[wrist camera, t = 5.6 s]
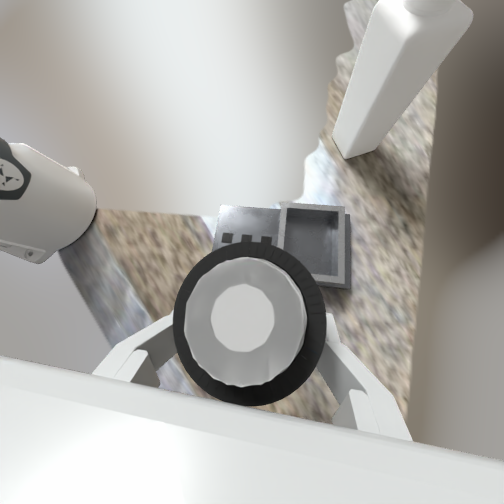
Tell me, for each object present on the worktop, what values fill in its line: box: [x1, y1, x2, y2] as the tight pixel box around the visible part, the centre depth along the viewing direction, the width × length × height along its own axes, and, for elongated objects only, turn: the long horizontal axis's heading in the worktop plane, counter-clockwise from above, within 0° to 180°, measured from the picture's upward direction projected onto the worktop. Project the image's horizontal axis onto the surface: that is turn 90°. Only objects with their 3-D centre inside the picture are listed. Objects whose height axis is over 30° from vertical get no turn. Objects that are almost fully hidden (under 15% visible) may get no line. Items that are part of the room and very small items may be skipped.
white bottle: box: [332, 0, 473, 159], centre depth 22 cm, size 6×6×22 cm
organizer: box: [212, 202, 350, 289], centre depth 27 cm, size 20×11×4 cm, turn 83°
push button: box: [173, 242, 327, 406], centre depth 10 cm, size 7×5×10 cm
